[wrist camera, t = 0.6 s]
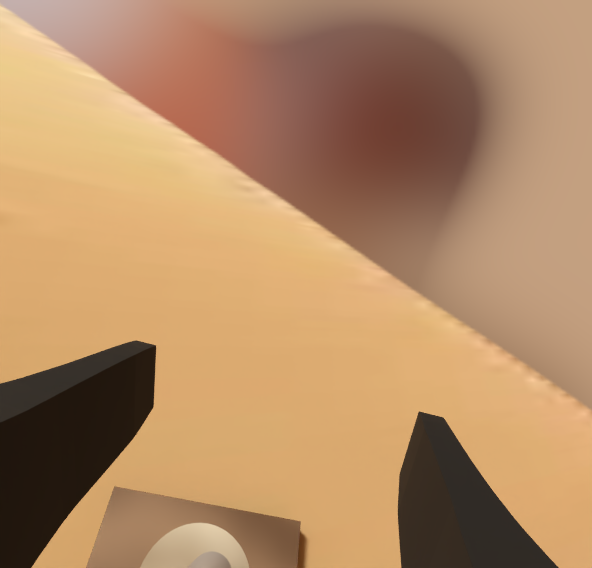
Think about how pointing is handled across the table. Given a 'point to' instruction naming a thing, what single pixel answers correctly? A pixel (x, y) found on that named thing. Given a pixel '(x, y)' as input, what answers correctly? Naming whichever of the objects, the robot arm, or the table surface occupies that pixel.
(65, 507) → the robot arm
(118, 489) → the board
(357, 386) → the table surface
